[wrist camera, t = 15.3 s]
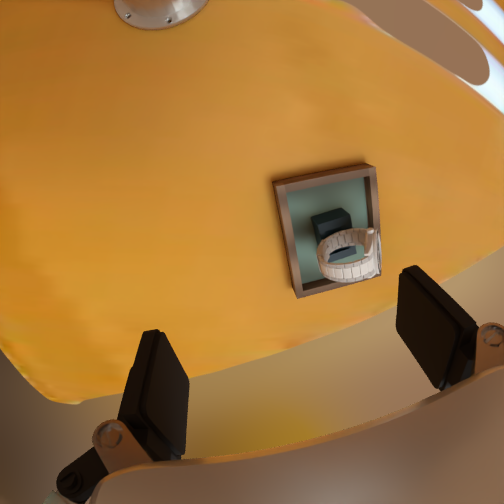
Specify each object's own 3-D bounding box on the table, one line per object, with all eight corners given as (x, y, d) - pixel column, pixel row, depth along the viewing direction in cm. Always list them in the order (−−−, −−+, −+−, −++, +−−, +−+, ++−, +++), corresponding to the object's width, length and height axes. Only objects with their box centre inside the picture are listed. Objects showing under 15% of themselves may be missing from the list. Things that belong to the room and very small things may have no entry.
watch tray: (272, 181, 37) (275, 186, 34) (366, 163, 37) (375, 166, 34) (292, 288, 44) (297, 298, 41) (373, 266, 44) (381, 275, 41)
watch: (360, 239, 40) (398, 278, 30) (307, 257, 40) (332, 303, 30) (354, 202, 38) (395, 232, 28) (297, 220, 38) (323, 257, 28)
